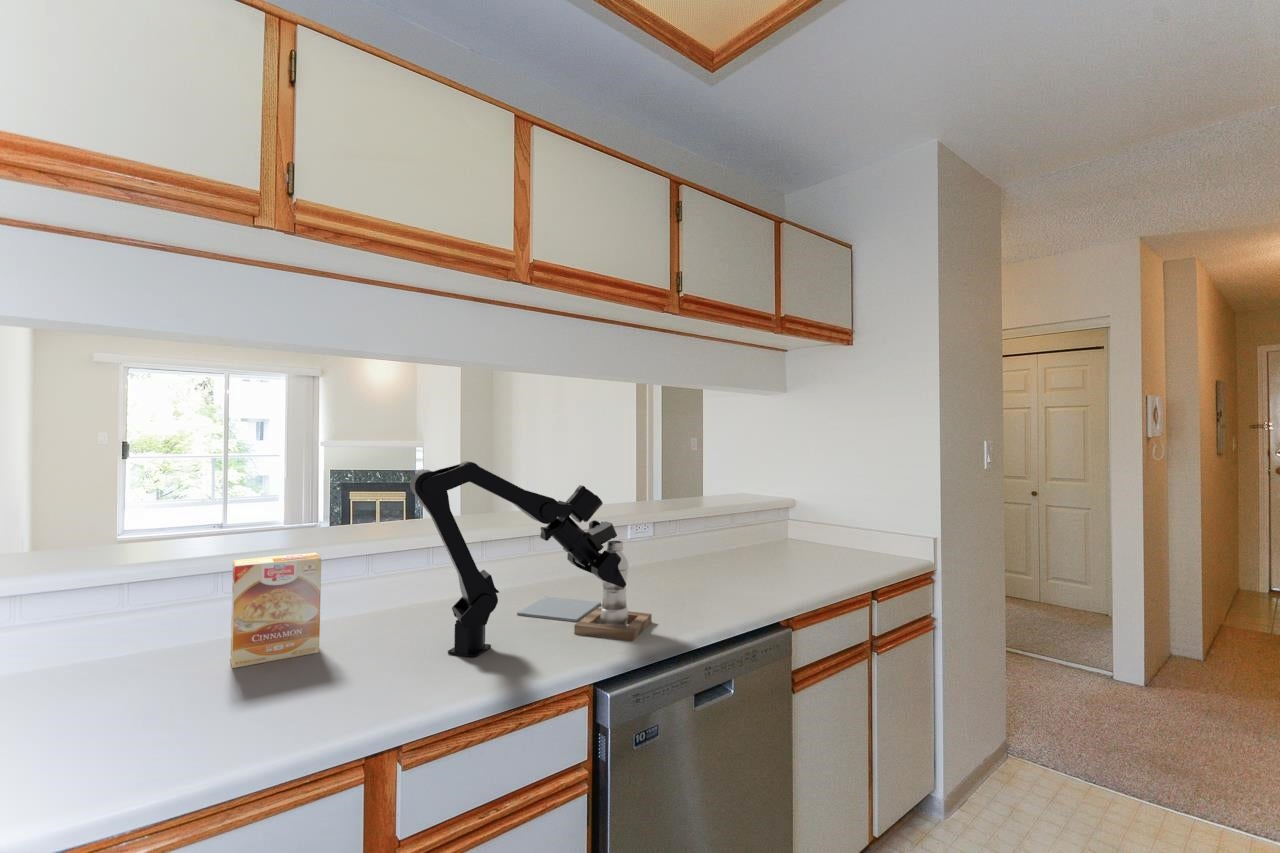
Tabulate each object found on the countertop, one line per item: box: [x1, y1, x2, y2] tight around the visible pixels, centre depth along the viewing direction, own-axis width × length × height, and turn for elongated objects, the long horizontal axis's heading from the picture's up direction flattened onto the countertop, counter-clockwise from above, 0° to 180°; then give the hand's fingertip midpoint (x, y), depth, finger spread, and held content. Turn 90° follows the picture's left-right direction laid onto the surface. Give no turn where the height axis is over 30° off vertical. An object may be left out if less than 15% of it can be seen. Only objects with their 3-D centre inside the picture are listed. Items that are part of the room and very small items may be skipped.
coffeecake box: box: [230, 551, 322, 669], centre depth 121 cm, size 15×7×20 cm, turn 126°
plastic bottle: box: [600, 540, 629, 627], centre depth 141 cm, size 6×7×20 cm
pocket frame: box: [573, 607, 653, 642], centre depth 141 cm, size 14×14×2 cm
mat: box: [516, 596, 602, 623], centre depth 155 cm, size 16×16×1 cm
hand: (615, 581), depth 141 cm, fingers open, 9 cm apart
